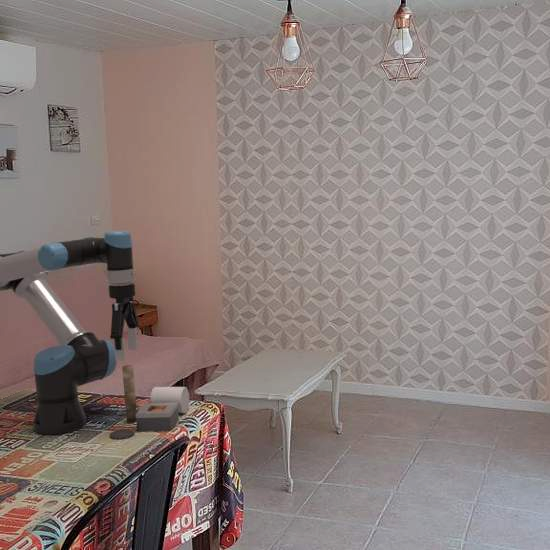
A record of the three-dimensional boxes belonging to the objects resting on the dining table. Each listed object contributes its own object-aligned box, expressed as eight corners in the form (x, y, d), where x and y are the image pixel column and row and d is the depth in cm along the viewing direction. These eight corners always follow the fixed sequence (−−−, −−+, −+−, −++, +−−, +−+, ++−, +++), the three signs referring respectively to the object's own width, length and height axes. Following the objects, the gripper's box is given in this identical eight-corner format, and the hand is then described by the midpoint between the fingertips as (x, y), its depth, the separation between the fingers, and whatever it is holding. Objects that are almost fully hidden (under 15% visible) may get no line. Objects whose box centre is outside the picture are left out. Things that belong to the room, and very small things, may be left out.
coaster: (106, 439, 209) (106, 438, 209) (113, 431, 216) (113, 429, 216) (130, 439, 209) (130, 437, 209) (137, 430, 216) (137, 429, 216)
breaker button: (149, 420, 218) (149, 412, 217) (153, 416, 221) (152, 408, 221) (162, 420, 217) (162, 412, 217) (165, 416, 221) (165, 408, 221)
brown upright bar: (125, 423, 223) (120, 367, 221) (128, 420, 226) (123, 365, 224) (135, 423, 223) (131, 367, 221) (138, 419, 226) (134, 364, 224)
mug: (182, 416, 227) (180, 391, 226) (150, 416, 229) (148, 391, 228) (194, 404, 239) (192, 380, 238) (164, 404, 241) (162, 380, 240)
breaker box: (136, 431, 215) (135, 413, 215) (146, 420, 225) (144, 403, 224) (171, 430, 214) (169, 413, 214) (178, 419, 224) (177, 402, 223)
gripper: (121, 289, 207) (127, 364, 209) (144, 277, 231) (149, 344, 234) (95, 290, 207) (101, 365, 210) (121, 278, 232) (126, 345, 235)
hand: (127, 354), depth 222 cm, fingers open, 13 cm apart
